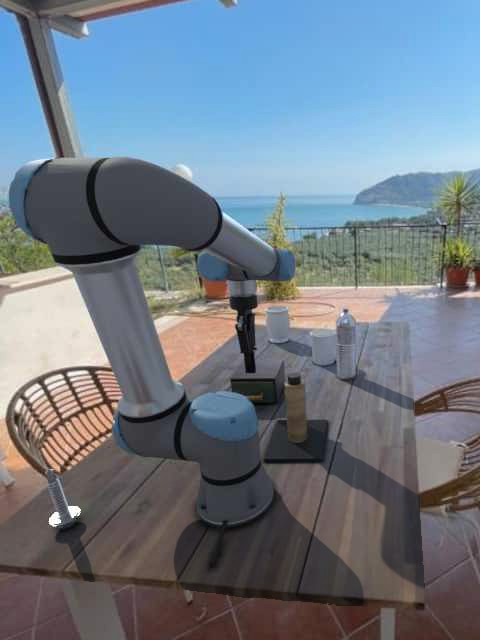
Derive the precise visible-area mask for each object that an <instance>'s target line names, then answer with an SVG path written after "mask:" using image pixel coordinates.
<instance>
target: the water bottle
mask: <svg viewBox="0 0 480 640" xmlns="http://www.w3.org/2000/svg"><path fill="white" fill-rule="evenodd" d="M356 325H357V321H356V319H355V317H354V316H353V315H352V314H351V313H349V308H346V307H344V308H342V313H341V314H339V316H338V317H337V318H336V320H335V332H336V340H335V357H336V376H337V378H338V379H340V380H344V381H346V380H347V381H348V380H352V379H354V378H355V377H356V374H357V345H356V343H357V342H356Z"/></svg>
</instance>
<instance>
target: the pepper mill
mask: <svg viewBox="0 0 480 640" xmlns="http://www.w3.org/2000/svg"><path fill="white" fill-rule="evenodd" d="M283 387H284V398H285V411H286V420H287V426H288V439H289V441H291V442H293V443H300V442H303V441H305V440H306V439H307V437H308V434H307V420H308V419H307V418H308V417H307V399H306V397H307V396H306V381H305V380H304V379H303V378H302V376H301V373H300V372H290V373H288V374H287V380H286V379H285V382H284V386H283Z"/></svg>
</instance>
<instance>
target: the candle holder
mask: <svg viewBox="0 0 480 640" xmlns="http://www.w3.org/2000/svg"><path fill="white" fill-rule="evenodd" d="M309 334H310V341H311V354H312V361H313V363H314V364H315V365H317V366H330V365H333V364H334V363H335V361H336V330H334V329H332V328H315V329H313V330H311V331H310V332H309Z"/></svg>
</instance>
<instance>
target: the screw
mask: <svg viewBox="0 0 480 640" xmlns="http://www.w3.org/2000/svg"><path fill="white" fill-rule="evenodd" d="M44 475H45V477H46V481H47V484H46V486H47V489H48V491H49V494H50V496H51V499H52V502H53V505H54V508H55V511H56V512H54V513H53V514H52V515H51V517H50V518H49V521H48V522H49V525H50V526H51V527H53V528H59V529H61V530H67V529H69V528H72V527H73V526H75V524H76V522H77V519H78V518H79V517H80V515H81V509H80V508H79V507H78V506H69V505H68V501H67V499H66V496H65V493H64V490H63V486H62V484H61V481H60V480H59V478H58V477H57V475H56V473H55V470H54V468H48V469H47V470H45V471H44Z"/></svg>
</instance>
